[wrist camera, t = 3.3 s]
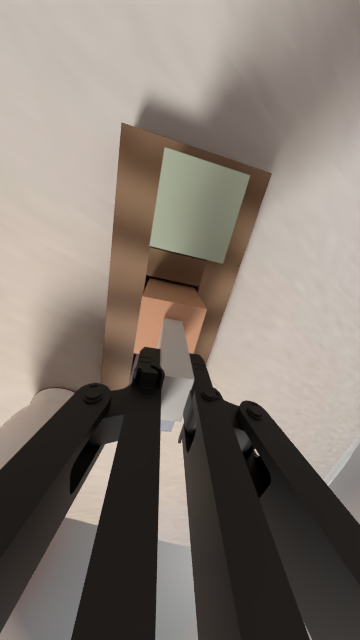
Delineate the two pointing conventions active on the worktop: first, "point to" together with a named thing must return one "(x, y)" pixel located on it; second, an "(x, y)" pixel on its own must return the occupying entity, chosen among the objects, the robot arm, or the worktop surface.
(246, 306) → the worktop surface
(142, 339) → the terracotta toy cube
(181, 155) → the sage green block
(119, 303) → the brown board
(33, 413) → the jar
